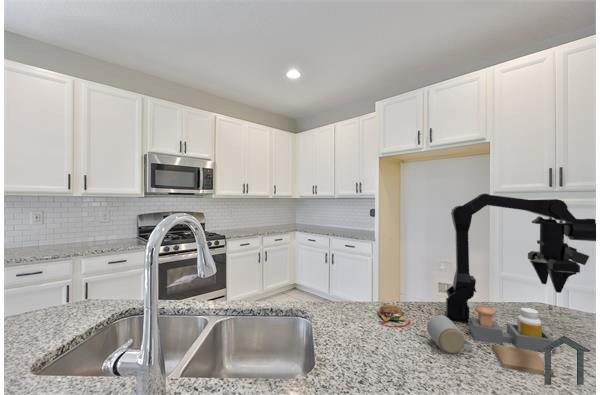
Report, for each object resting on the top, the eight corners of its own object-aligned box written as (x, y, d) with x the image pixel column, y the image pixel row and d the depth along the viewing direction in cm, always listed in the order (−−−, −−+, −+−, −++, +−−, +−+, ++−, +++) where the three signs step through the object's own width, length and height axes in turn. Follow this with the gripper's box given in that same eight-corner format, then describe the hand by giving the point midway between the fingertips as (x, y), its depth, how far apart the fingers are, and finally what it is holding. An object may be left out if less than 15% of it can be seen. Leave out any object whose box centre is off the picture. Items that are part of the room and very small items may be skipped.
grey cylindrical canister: (438, 355, 74) (439, 326, 75) (426, 339, 83) (426, 313, 83) (479, 357, 74) (480, 328, 74) (462, 341, 82) (463, 315, 82)
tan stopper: (477, 328, 83) (477, 310, 84) (473, 321, 88) (473, 304, 88) (497, 331, 82) (497, 313, 82) (492, 324, 86) (492, 306, 87)
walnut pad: (503, 367, 69) (503, 363, 69) (491, 347, 78) (491, 344, 78) (553, 376, 65) (553, 372, 65) (535, 355, 75) (535, 351, 75)
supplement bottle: (546, 349, 78) (546, 314, 78) (524, 347, 79) (524, 312, 79) (534, 340, 83) (534, 307, 83) (513, 338, 84) (513, 306, 84)
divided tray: (475, 341, 82) (475, 327, 82) (469, 328, 90) (469, 316, 90) (555, 354, 75) (555, 339, 75) (541, 339, 83) (541, 326, 83)
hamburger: (364, 312, 104) (364, 296, 105) (401, 311, 105) (401, 295, 105) (376, 328, 90) (376, 310, 91) (418, 328, 91) (418, 309, 91)
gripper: (604, 244, 77) (604, 301, 77) (567, 237, 94) (567, 283, 94) (554, 241, 81) (553, 295, 80) (527, 234, 98) (526, 279, 98)
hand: (550, 288), depth 88 cm, fingers open, 9 cm apart
